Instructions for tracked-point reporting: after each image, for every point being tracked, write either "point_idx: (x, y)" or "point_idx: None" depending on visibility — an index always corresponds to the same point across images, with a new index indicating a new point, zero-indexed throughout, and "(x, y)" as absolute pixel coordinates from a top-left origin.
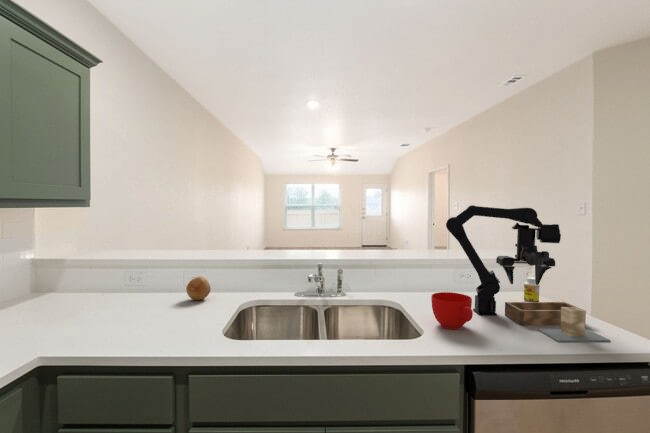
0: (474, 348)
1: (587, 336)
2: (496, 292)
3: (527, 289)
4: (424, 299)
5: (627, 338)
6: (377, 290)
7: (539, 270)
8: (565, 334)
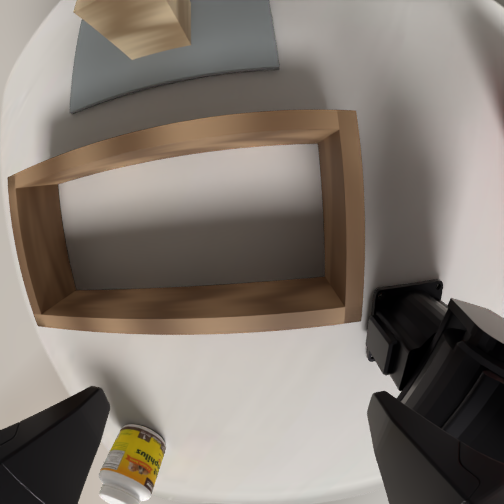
0: (486, 10)
1: None
2: (449, 334)
3: (146, 471)
4: None
5: (26, 73)
6: None
7: (14, 488)
8: (192, 18)
